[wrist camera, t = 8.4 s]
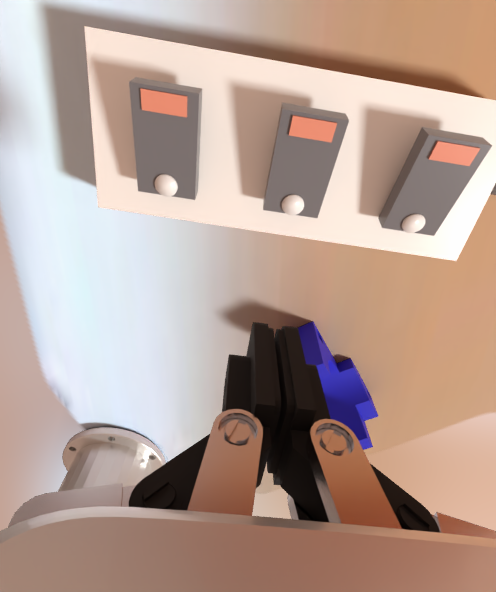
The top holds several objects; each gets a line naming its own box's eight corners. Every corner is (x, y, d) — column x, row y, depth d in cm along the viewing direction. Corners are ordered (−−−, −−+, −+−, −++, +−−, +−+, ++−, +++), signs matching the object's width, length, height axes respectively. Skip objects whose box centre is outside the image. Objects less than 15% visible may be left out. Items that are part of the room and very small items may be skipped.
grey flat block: (428, 225, 24) (434, 236, 23) (378, 218, 23) (382, 228, 22) (482, 137, 19) (493, 146, 18) (422, 126, 19) (429, 135, 18)
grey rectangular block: (198, 191, 22) (194, 200, 22) (143, 183, 22) (137, 191, 21) (202, 88, 18) (198, 94, 17) (135, 77, 18) (128, 82, 17)
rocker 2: (315, 208, 23) (317, 219, 22) (263, 200, 23) (263, 210, 22) (345, 113, 19) (349, 121, 18) (282, 102, 19) (282, 109, 18)
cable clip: (369, 394, 37) (388, 442, 32) (331, 407, 38) (343, 455, 33) (327, 314, 32) (341, 356, 27) (284, 332, 33) (289, 376, 28)
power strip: (491, 251, 28) (520, 270, 25) (116, 194, 26) (98, 207, 23) (566, 118, 23) (612, 121, 20) (108, 36, 21) (84, 26, 18)
